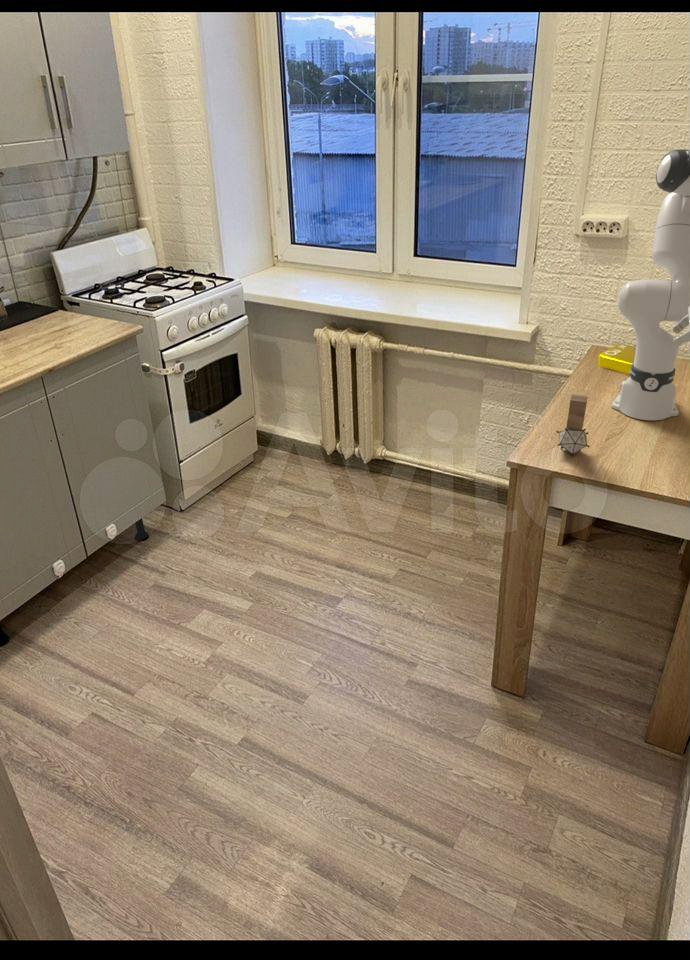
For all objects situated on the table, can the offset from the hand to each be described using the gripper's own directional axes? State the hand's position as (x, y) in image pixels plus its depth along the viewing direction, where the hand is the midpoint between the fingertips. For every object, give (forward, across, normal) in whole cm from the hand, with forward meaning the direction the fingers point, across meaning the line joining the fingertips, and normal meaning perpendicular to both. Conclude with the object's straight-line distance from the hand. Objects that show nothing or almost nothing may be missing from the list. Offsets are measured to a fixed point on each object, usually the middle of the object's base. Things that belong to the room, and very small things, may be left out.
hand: (674, 337), depth 168 cm
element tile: (+30, -70, +19) cm, 79 cm away
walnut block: (+32, 0, +5) cm, 33 cm away
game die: (+38, 0, +11) cm, 40 cm away
